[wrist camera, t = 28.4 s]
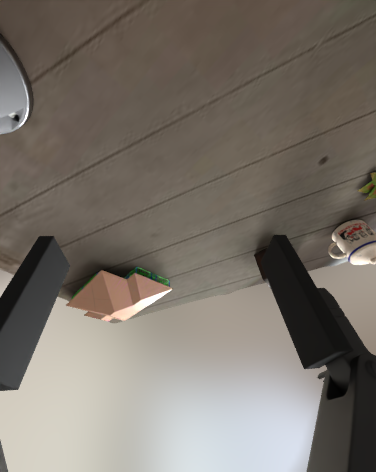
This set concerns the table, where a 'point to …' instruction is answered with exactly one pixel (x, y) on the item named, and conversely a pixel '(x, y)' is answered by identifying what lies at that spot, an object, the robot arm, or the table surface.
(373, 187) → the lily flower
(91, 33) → the table surface
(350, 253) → the teacup with lid
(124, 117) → the table surface
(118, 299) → the house
